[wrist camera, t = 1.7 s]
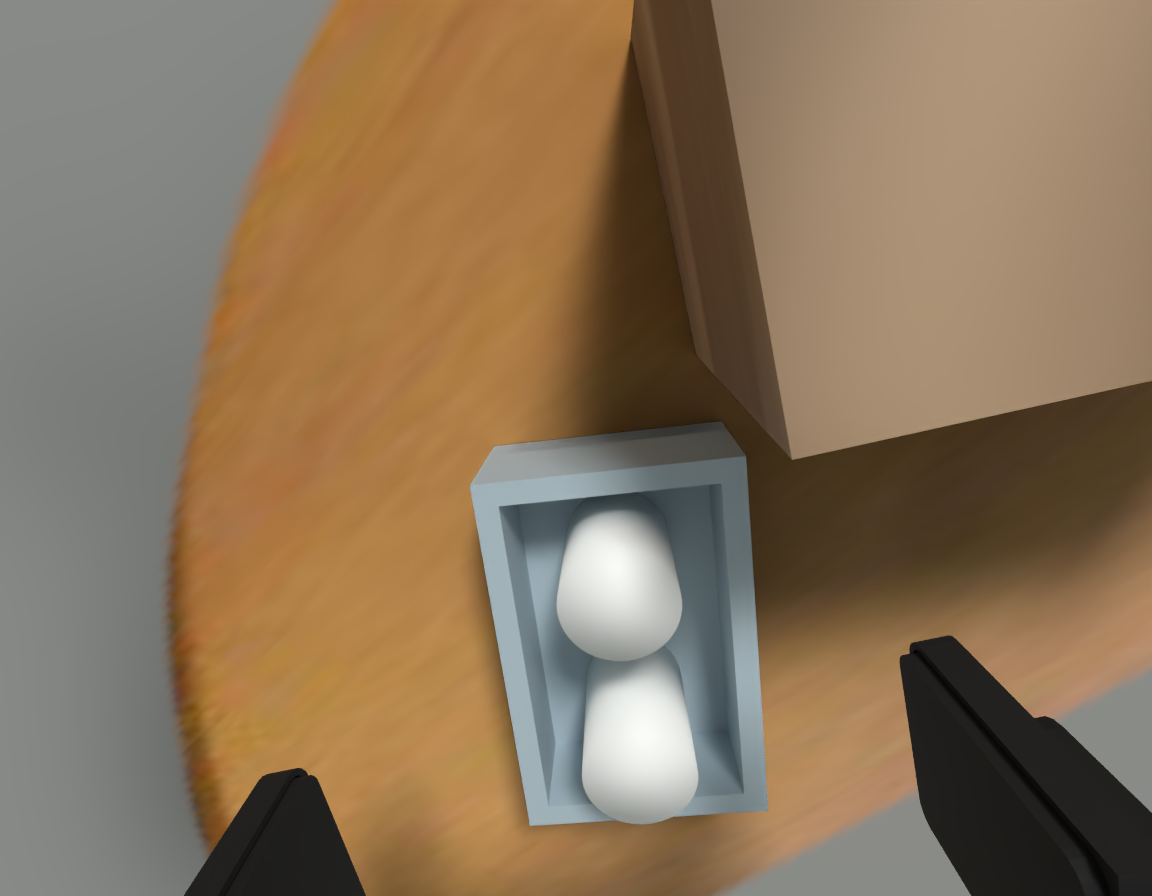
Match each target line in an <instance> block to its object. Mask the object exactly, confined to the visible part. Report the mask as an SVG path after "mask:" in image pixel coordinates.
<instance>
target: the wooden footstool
mask: <svg viewBox="0 0 1152 896" xmlns="http://www.w3.org/2000/svg"><path fill="white" fill-rule="evenodd" d="M631 40H632V45H633V50H634V55H635V60H636V65H637V70H638V74H639V79H640V84H641V89H642V94H643V99H644V104H645V108H646V113H647V118H648V123H649V128H650V133H651V138H652V143H653V147H654V152H655V157H656V162H657V167H658V172H659V177H660V181H661V186H662V191H663V196H664V201H665V206H666V211H667V215H668V220H669V225H670V230H671V235H672V240H673V245H674V249H675V254H676V259H677V264H678V269H679V274H680V279H681V283H682V288H683V293H684V298H685V303H686V308H687V313H688V318H689V322H690V327H691V332H692V337H693V342H694V347H695V352H696V356H697V357H698V358H699V359H700V360H701V361H702V362H703V363H704V364H705V366H706V367H707V368H708V369H709V370H710V371H711V372H712V373H713V374H714V375H715V376H716V378H717V379H718V380H719V381H720V382H721V383H722V384H723V385H724V386H725V387H726V388H727V390H728V391H729V392H730V393H731V394H732V395H733V396H734V397H735V398H736V399H737V400H738V402H739V403H740V404H741V405H742V406H743V407H744V408H745V409H746V410H747V411H748V412H749V414H750V415H751V416H752V417H753V418H754V419H755V420H756V421H757V422H758V423H759V425H760V426H761V427H762V428H763V429H764V430H765V431H766V432H767V433H768V434H769V435H770V437H771V438H772V439H773V440H774V441H775V442H776V443H777V444H778V445H779V446H780V447H781V449H782V450H783V451H784V452H785V453H786V454H787V455H788V456H789V457H790V458H791V459H792V460H794V459H799V458H803V457H808V456H812V455H817V454H822V453H826V452H831V451H835V450H840V449H844V448H849V447H853V446H858V445H862V444H867V443H872V442H876V441H881V440H885V439H890V438H894V437H899V436H903V435H908V434H912V433H917V432H921V431H926V430H931V429H935V428H940V427H944V426H949V425H953V424H958V423H962V422H967V421H971V420H976V419H980V418H985V417H990V416H994V415H999V414H1003V413H1008V412H1012V411H1017V410H1021V409H1026V408H1030V407H1035V406H1039V405H1044V404H1049V403H1053V402H1058V401H1062V400H1067V399H1071V398H1076V397H1080V396H1085V395H1089V394H1094V393H1098V392H1103V391H1108V390H1112V389H1117V388H1121V387H1126V386H1130V385H1135V384H1139V383H1144V382H1148V381H1152V0H634V7H633V18H632V28H631Z"/></svg>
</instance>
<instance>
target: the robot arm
mask: <svg viewBox="0 0 1152 896" xmlns="http://www.w3.org/2000/svg"><path fill="white" fill-rule="evenodd" d="M909 650H910V654H906V655H902V656H901V657H900V669H901V676H902V683H903V689H904V696H905V703H906V710H907V717H908V723H909V730H910V737H911V744H912V751H913V757H914V764H915V771H916V778H917V785H918V791H919V798H920V803H921V806H922V810H923V813H924V815H925V818H926V820H927V822H928V824H929V826H930V828H931V830H932V831H933V833H934V835H935V837H936V838H937V840H938V841H939V843H940V845H941V846H942V848H943V850H944V851H945V853H946V855H947V856H948V858H949V860H950V861H951V863H952V865H953V866H954V868H955V870H956V871H957V873H958V875H959V876H960V877H961V879H962V881H963V883H964V884H965V886H966V888H967V889H968V891H969V893H970V894H971V896H1152V813H1151V812H1150V811H1149V810H1148V809H1147V808H1146V807H1145V806H1144V805H1143V804H1142V803H1141V802H1140V801H1139V800H1138V799H1137V798H1136V797H1135V796H1134V795H1133V794H1132V793H1130V792H1129V791H1128V790H1127V789H1126V788H1125V787H1124V786H1123V785H1122V784H1121V783H1120V782H1119V781H1118V780H1117V779H1116V778H1115V777H1114V776H1113V775H1112V774H1111V773H1110V772H1109V771H1108V770H1107V769H1106V768H1105V767H1104V766H1103V765H1102V764H1101V763H1100V762H1098V760H1096V758H1095V757H1093V756H1092V755H1091V754H1090V753H1089V752H1088V751H1087V750H1086V749H1085V748H1084V747H1083V746H1082V745H1081V744H1080V743H1079V742H1078V741H1077V740H1076V739H1075V738H1074V737H1073V736H1072V735H1071V734H1070V733H1069V732H1068V731H1067V730H1066V729H1065V728H1064V727H1062V726H1061V725H1060V724H1059V723H1057V722H1056V721H1055V720H1054V719H1052V718H1049V717H1046V716H1043V717H1038V718H1033V717H1032V716H1031V715H1030V714H1029V713H1028V712H1027V711H1026V710H1025V709H1024V708H1023V707H1022V706H1021V705H1020V703H1019V702H1018V701H1017V700H1016V699H1015V698H1014V697H1013V696H1012V695H1011V694H1010V693H1009V692H1008V691H1007V690H1006V689H1005V688H1004V687H1003V686H1002V685H1001V684H1000V683H999V682H998V681H997V680H996V679H995V678H994V677H993V676H992V675H991V674H990V673H989V672H988V671H987V670H986V669H985V668H984V667H983V666H982V665H981V664H980V663H979V662H978V661H977V660H976V659H975V658H974V657H973V656H972V655H971V654H970V653H969V652H968V651H967V650H966V649H965V648H964V647H963V646H962V645H961V644H960V643H959V642H958V641H957V640H956V639H955V638H954V637H953V636H949V635H948V636H943V637H938V638H934V639H929V640H924V641H919V642H914V643H912V644H911V645H910V649H909ZM184 896H366V895H365V893H364V890H363V888H362V885H361V883H360V881H359V878H358V876H357V873H356V871H355V869H354V866H353V864H352V861H351V859H350V856H349V854H348V852H347V849H346V847H345V844H344V842H343V840H342V837H341V835H340V832H339V830H338V828H337V825H336V823H335V820H334V818H333V815H332V813H331V811H330V808H329V806H328V803H327V801H326V799H325V796H324V794H323V791H322V789H321V786H320V784H319V782H318V780H317V778H316V777H314V776H312V775H309V776H308V774H307V772H306V771H304V770H303V769H301V768H295V769H291V770H286V771H281V772H276V773H271V774H267V775H265V776H263V777H262V778H261V779H260V780H259V781H258V782H257V784H256V786H255V787H254V789H253V790H252V792H251V793H250V795H249V796H248V798H247V799H246V801H245V802H244V804H243V806H242V807H241V809H240V810H239V812H238V813H237V815H236V816H235V818H234V819H233V821H232V822H231V824H230V825H229V827H228V829H227V830H226V832H225V833H224V835H223V836H222V838H221V839H220V841H219V842H218V844H217V845H216V847H215V849H214V850H213V852H212V853H211V855H210V856H209V858H208V859H207V861H206V862H205V864H204V865H203V867H202V868H201V870H200V872H199V873H198V875H197V876H196V878H195V879H194V881H193V882H192V884H191V885H190V887H189V888H188V890H187V891H186V893H185V895H184Z"/></svg>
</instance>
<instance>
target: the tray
mask: <svg viewBox="0 0 1152 896" xmlns="http://www.w3.org/2000/svg"><path fill="white" fill-rule="evenodd" d="M470 489H471V495H472V501H473V506H474V512H475V518H476V523H477V529H478V535H479V540H480V546H481V551H482V557H483V563H484V568H485V574H486V580H487V585H488V591H489V597H490V602H491V608H492V613H493V619H494V625H495V630H496V636H497V642H498V647H499V653H500V659H501V664H502V670H503V676H504V681H505V687H506V692H507V698H508V704H509V709H510V715H511V721H512V726H513V732H514V738H515V743H516V749H517V754H518V760H519V766H520V771H521V777H522V783H523V788H524V794H525V800H526V805H527V811H528V816H529V822H530V826H536V825H552V824H568V823H583V822H599V821H614V820H618V821H622V822H625V823H630V824H652V823H657V822H661V821H664V820H667V819H669V818H671V817H677V816H692V815H708V814H724V813H739V812H755V811H768V800H767V784H766V768H765V752H764V736H763V720H762V704H761V688H760V672H759V655H758V639H757V623H756V607H755V591H754V575H753V559H752V543H751V527H750V511H749V495H748V479H747V463H746V455H745V454H744V452H743V451H742V450H741V448H740V447H739V445H738V444H737V442H736V441H735V440H734V438H733V437H732V435H731V434H730V432H729V431H728V430H727V428H726V427H725V425H724V424H723V422H722V421H719V422H709V423H700V424H691V425H682V426H673V427H664V428H655V429H646V430H637V431H628V432H619V433H610V434H601V435H592V436H583V437H574V438H565V439H556V440H547V441H538V442H529V443H520V444H511V445H502V446H494V447H493V449H492V451H491V452H490V454H489V455H488V457H487V459H486V460H485V462H484V463H483V465H482V467H481V468H480V470H479V472H478V473H477V475H476V476H475V478H474V480H473V481H472V483H471V484H470Z"/></svg>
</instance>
